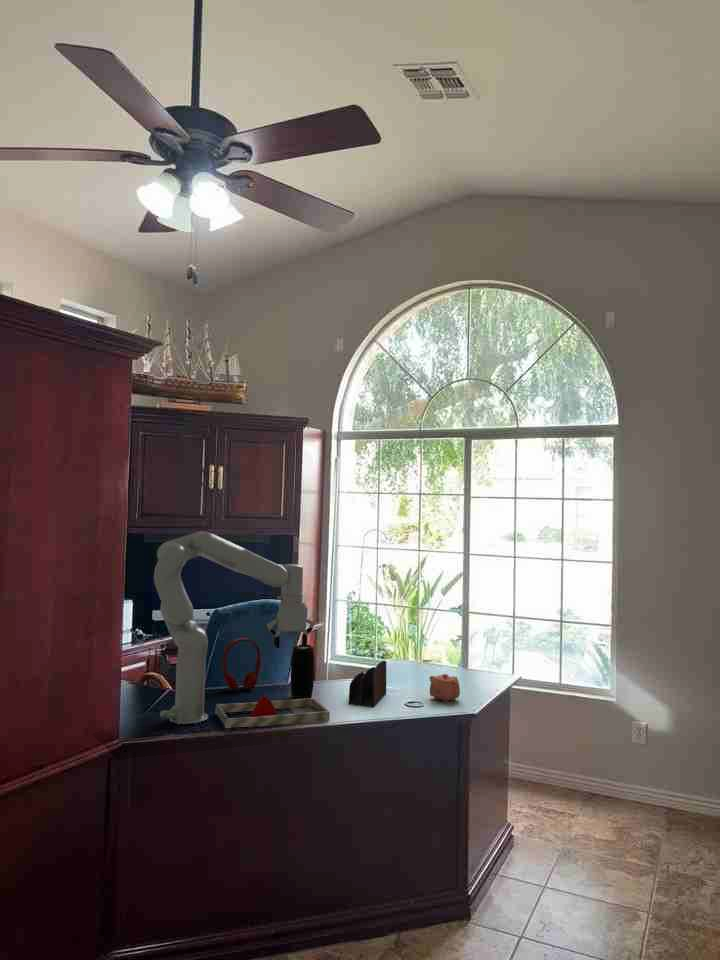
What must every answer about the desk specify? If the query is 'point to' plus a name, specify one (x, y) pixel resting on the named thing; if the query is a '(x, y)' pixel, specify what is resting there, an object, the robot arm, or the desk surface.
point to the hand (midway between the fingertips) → (290, 646)
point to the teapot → (444, 687)
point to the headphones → (251, 676)
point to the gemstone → (263, 708)
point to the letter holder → (368, 686)
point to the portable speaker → (302, 672)
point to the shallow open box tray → (299, 707)
